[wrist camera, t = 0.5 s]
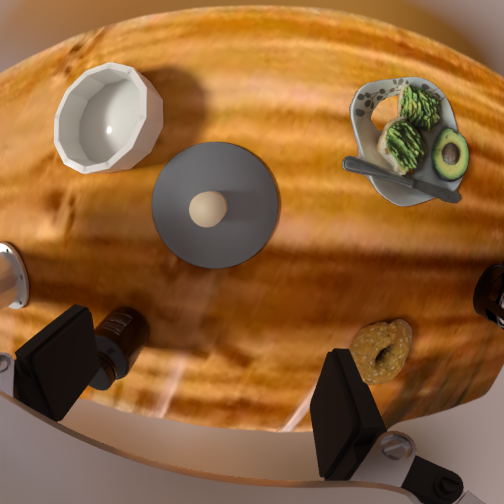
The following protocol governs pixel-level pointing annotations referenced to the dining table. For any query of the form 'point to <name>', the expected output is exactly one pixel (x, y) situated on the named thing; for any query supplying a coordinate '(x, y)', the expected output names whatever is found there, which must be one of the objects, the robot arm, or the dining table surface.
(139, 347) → the supplement bottle
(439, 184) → the salad plate
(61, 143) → the bowl
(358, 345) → the bagel
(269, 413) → the dining table surface
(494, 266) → the french press
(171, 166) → the lid
